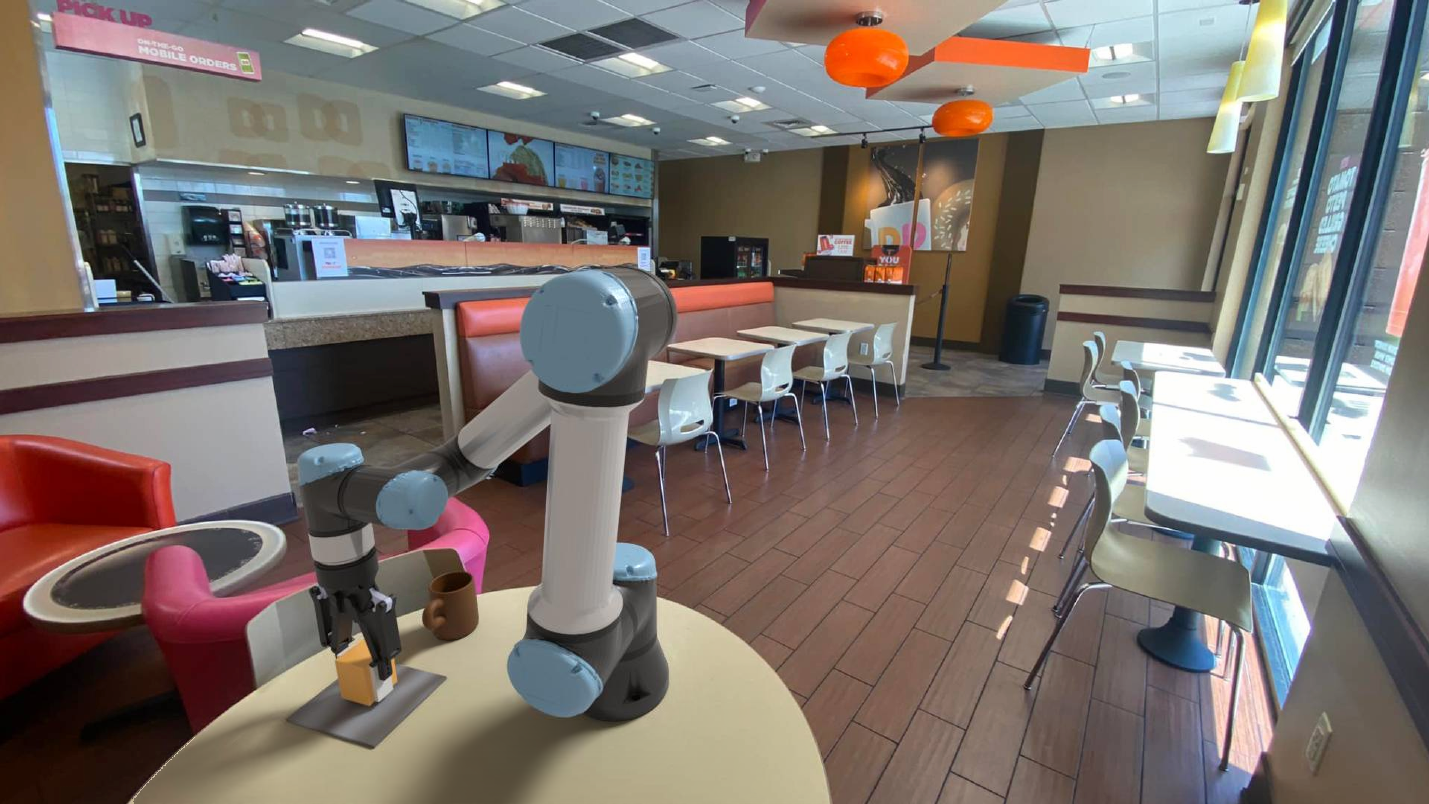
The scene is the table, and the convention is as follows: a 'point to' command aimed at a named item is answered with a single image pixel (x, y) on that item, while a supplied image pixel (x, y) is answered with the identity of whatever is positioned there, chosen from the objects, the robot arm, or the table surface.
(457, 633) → the mug
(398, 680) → the grey rubber mat
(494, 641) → the table surface
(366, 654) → the orange foam cube
